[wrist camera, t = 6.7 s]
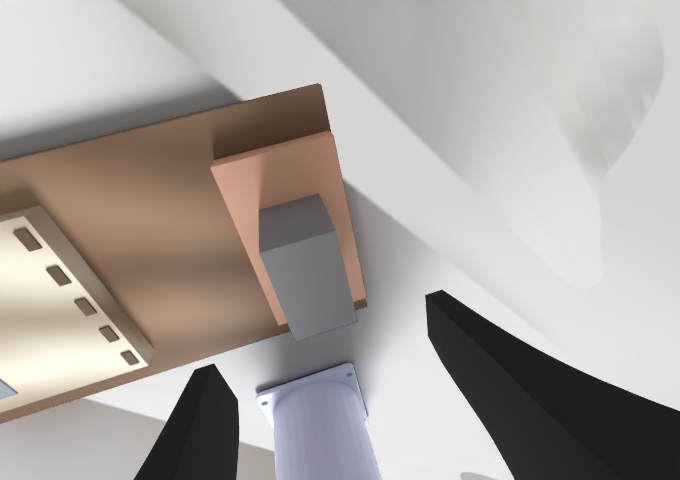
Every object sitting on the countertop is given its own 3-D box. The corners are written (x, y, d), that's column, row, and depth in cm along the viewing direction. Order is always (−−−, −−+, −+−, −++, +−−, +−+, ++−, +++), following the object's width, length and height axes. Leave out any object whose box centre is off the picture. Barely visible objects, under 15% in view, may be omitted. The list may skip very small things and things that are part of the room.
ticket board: (362, 297, 22) (373, 319, 20) (-8, 414, 20) (-36, 452, 18) (317, 83, 15) (326, 86, 13) (-276, 228, 13) (-373, 258, 11)
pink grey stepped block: (361, 286, 20) (389, 347, 16) (277, 312, 20) (283, 383, 15) (328, 130, 15) (357, 158, 11) (213, 160, 15) (194, 202, 10)
